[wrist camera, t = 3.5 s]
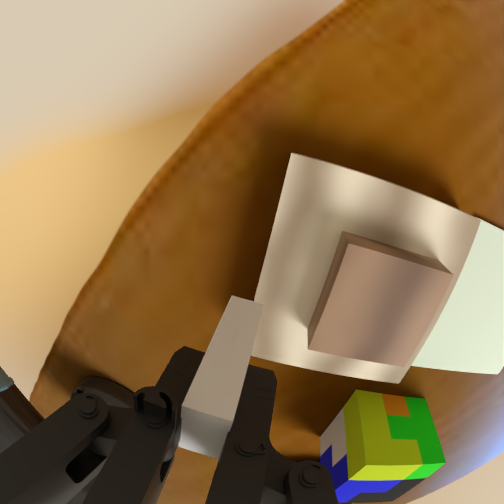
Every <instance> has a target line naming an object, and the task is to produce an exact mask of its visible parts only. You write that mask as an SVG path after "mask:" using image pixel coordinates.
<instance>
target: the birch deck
mask: <svg viewBox="0 0 504 504" xmlns="http://www.w3.org/2000/svg"><path fill="white" fill-rule="evenodd" d="M480 222H481V220H479V219H477V218H475V217H473V216H471V215H470V214H468V213H466V212H464V211H462V210H460V209H457V208H455V207H453V206H450V205H448V204H446V203H443V202H441V201H439V200H436V199H434V198H431V197H429V196H426V195H424V194H421V193H419V192H416V191H414V190H411V189H408V188H406V187H403V186H400V185H398V184H395V183H392V182H389V181H387V180H384V179H381V178H378V177H375V176H372V175H369V174H366V173H363V172H360V171H357V170H354V169H350V168H347V167H344V166H341V165H337V164H334V163H331V162H327V161H324V160H320V159H316V158H313V157H309V156H305V155H302V154H298V153H294V152H292V153H291V156H290V160H289V164H288V168H287V172H286V176H285V181H284V185H283V189H282V193H281V197H280V201H279V205H278V209H277V213H276V217H275V221H274V224H273V228H272V232H271V236H270V240H269V244H268V248H267V252H266V256H265V260H264V264H263V267H262V271H261V275H260V279H259V283H258V287H257V290H256V294H255V298H254V302H258V303H261V304H264V305H263V309H262V313H261V317H260V321H259V325H258V329H257V333H256V337H255V341H254V344H253V348H252V352H251V356H254V357H258V358H262V359H266V360H270V361H274V362H279V363H283V364H287V365H292V366H296V367H301V368H306V369H311V370H316V371H321V372H326V373H331V374H337V375H343V376H348V377H355V378H361V379H367V380H374V381H382V382H389V383H397V384H399V382H400V381H401V380H402V378H403V377H404V375H405V374H406V372H407V371H408V369H409V368H410V366H411V365H412V363H413V361H414V360H415V358H416V357H417V355H418V353H419V352H420V350H421V349H422V347H423V345H424V344H425V342H426V340H427V338H428V337H429V335H430V333H431V332H432V330H433V328H434V326H435V324H436V322H437V321H438V319H439V317H440V315H441V313H442V311H443V309H444V307H445V305H446V303H447V301H448V299H449V297H450V295H451V293H452V291H453V289H454V287H455V285H456V282H457V280H458V278H459V276H460V274H461V271H462V269H463V267H464V264H465V262H466V259H467V257H468V254H469V252H470V249H471V247H472V244H473V241H474V239H475V236H476V233H477V230H478V228H479V225H480ZM342 231H344V232H348V233H351V234H355V235H358V236H361V237H365V238H368V239H372V240H375V241H378V242H381V243H385V244H388V245H391V246H395V247H398V248H401V249H404V250H407V251H410V252H414V253H417V254H420V255H423V256H426V257H429V258H432V259H435V260H438V261H440V262H441V263H442V264H443V265H444V266H445V267H446V268H447V269H448V270H449V271H450V272H451V273H452V274H453V275H454V276H453V278H452V280H451V282H450V285H449V287H448V289H447V291H446V293H445V295H444V297H443V299H442V301H441V303H440V305H439V307H438V309H437V311H436V313H435V315H434V317H433V319H432V321H431V323H430V324H429V326H428V328H427V330H426V332H425V333H424V335H423V337H422V339H421V340H420V342H419V344H418V346H417V347H416V349H415V351H414V352H413V354H412V355H411V357H410V359H409V360H408V362H407V363H406V365H405V367H401V366H394V365H388V364H381V363H375V362H369V361H364V360H358V359H353V358H347V357H342V356H337V355H332V354H327V353H322V352H317V351H313V350H308V337H307V329H308V326H309V324H310V321H311V318H312V316H313V313H314V311H315V308H316V305H317V303H318V300H319V297H320V295H321V292H322V289H323V287H324V284H325V281H326V278H327V275H328V273H329V270H330V267H331V264H332V261H333V258H334V255H335V252H336V249H337V246H338V243H339V240H340V237H341V234H342Z"/></svg>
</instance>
